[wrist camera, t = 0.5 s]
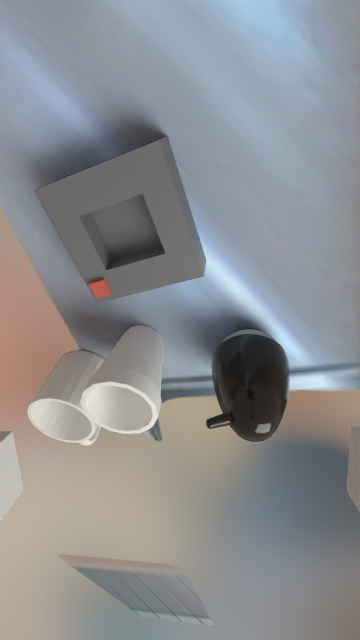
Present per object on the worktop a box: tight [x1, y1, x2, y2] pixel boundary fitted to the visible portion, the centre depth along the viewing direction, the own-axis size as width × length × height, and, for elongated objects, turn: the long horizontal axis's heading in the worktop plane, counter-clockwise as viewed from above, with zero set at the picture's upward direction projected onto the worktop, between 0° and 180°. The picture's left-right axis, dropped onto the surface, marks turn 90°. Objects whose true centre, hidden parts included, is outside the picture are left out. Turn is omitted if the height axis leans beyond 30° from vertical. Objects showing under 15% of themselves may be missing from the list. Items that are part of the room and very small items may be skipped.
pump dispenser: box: [206, 329, 290, 442], centre depth 39 cm, size 10×10×15 cm
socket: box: [34, 136, 206, 303], centre depth 34 cm, size 14×14×5 cm
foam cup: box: [80, 325, 164, 434], centre depth 42 cm, size 10×9×13 cm
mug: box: [28, 350, 105, 445], centre depth 49 cm, size 13×10×10 cm
